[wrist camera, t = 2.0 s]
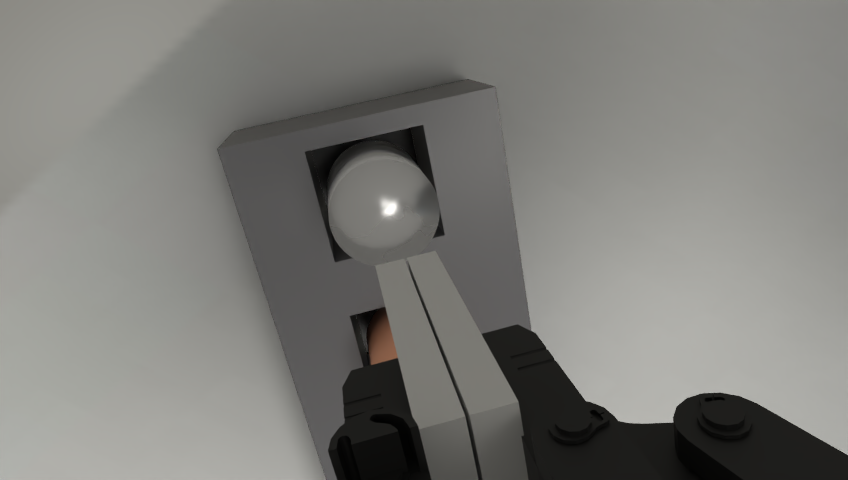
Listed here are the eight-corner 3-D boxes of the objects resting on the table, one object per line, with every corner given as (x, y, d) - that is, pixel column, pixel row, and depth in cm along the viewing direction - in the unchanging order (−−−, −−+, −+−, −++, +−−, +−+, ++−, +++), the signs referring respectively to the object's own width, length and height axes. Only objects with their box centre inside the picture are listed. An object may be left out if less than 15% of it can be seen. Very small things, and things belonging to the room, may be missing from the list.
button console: (467, 79, 29) (495, 86, 25) (525, 435, 38) (554, 491, 33) (234, 131, 28) (217, 149, 24) (346, 486, 36) (350, 552, 32)
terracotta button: (442, 285, 29) (463, 327, 25) (457, 358, 31) (479, 409, 26) (357, 307, 29) (364, 353, 25) (377, 380, 30) (386, 435, 26)
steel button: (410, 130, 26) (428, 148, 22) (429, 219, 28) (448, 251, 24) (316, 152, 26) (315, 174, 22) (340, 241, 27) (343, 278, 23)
